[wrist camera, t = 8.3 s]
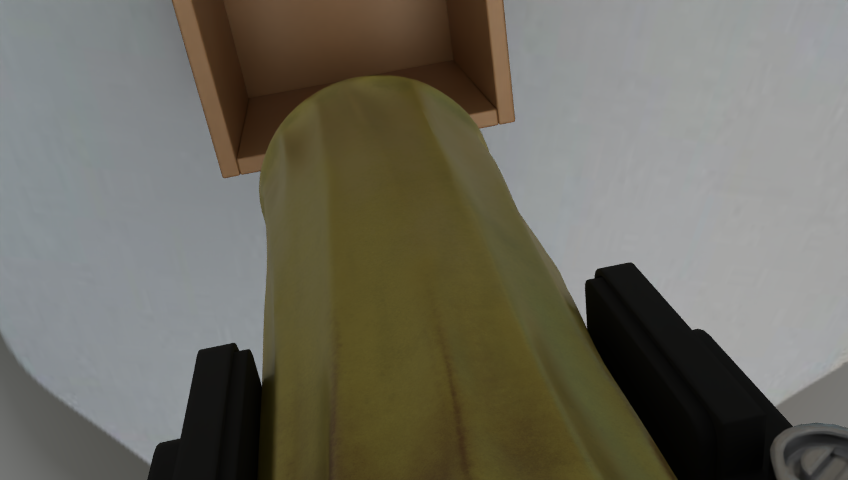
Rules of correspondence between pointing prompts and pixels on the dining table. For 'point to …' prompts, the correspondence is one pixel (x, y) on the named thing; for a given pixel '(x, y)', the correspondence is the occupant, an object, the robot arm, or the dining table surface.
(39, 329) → the dining table surface
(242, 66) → the package
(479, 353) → the vase
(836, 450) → the robot arm
